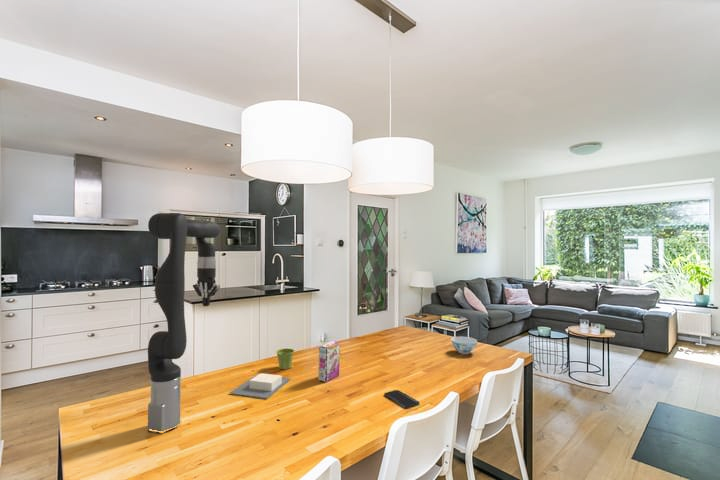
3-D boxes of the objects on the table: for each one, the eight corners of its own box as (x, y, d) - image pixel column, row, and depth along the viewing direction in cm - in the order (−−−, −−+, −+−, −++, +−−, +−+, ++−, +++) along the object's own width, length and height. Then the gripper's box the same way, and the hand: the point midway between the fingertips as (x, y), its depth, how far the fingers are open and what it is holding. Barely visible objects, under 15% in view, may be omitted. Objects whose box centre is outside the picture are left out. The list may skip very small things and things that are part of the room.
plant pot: (296, 369, 179) (296, 352, 179) (277, 371, 176) (277, 354, 176) (292, 363, 188) (292, 347, 188) (274, 365, 184) (275, 349, 185)
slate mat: (266, 399, 144) (266, 397, 144) (229, 394, 149) (229, 392, 149) (290, 379, 166) (290, 378, 166) (257, 375, 170) (257, 374, 170)
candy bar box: (326, 383, 162) (326, 347, 162) (318, 380, 164) (318, 346, 165) (340, 375, 171) (340, 342, 172) (331, 373, 174) (332, 340, 174)
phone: (397, 389, 153) (420, 402, 141) (397, 392, 153) (420, 405, 141) (382, 393, 149) (405, 407, 136) (382, 396, 149) (405, 410, 136)
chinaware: (450, 355, 204) (450, 341, 204) (451, 347, 218) (451, 335, 219) (477, 357, 200) (477, 344, 200) (476, 350, 214) (476, 337, 214)
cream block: (249, 388, 154) (271, 391, 151) (249, 380, 154) (271, 383, 151) (260, 380, 163) (281, 383, 160) (260, 373, 163) (281, 375, 160)
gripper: (187, 267, 152) (187, 306, 152) (213, 267, 149) (213, 308, 149) (200, 266, 160) (199, 303, 159) (224, 266, 156) (224, 305, 156)
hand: (206, 306), depth 154 cm, fingers closed
